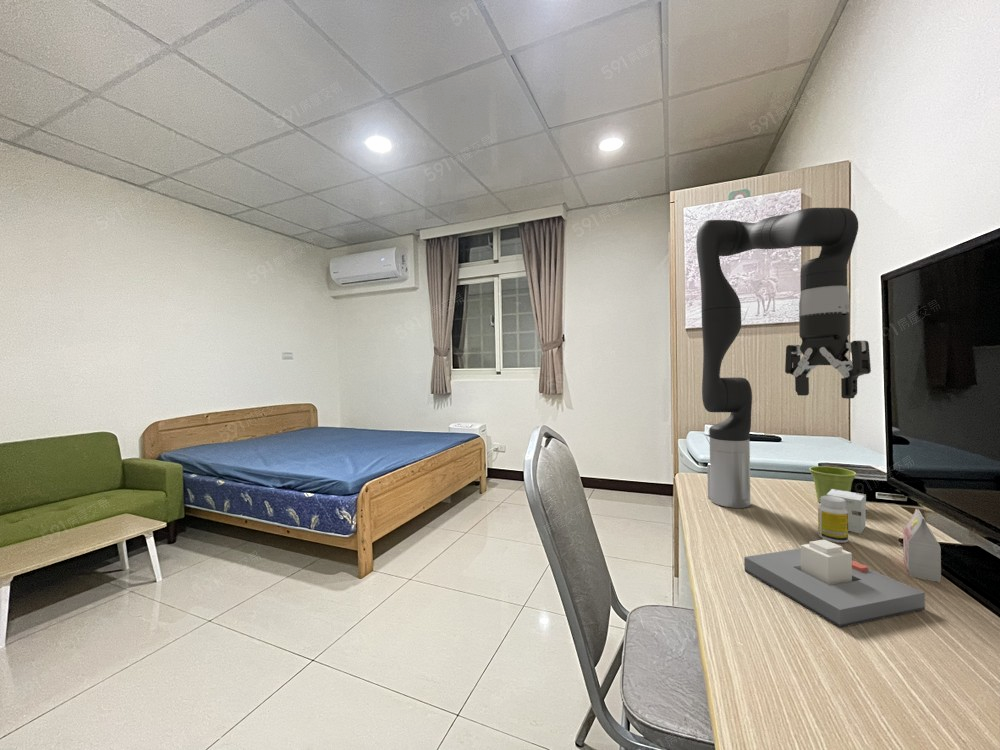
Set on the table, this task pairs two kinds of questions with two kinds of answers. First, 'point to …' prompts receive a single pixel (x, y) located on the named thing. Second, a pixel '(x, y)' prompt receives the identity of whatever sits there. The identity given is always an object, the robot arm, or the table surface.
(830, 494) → the skincare box
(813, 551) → the plug
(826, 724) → the table surface
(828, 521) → the supplement bottle
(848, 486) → the plant pot
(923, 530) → the tea bag
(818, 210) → the robot arm
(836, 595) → the socket
